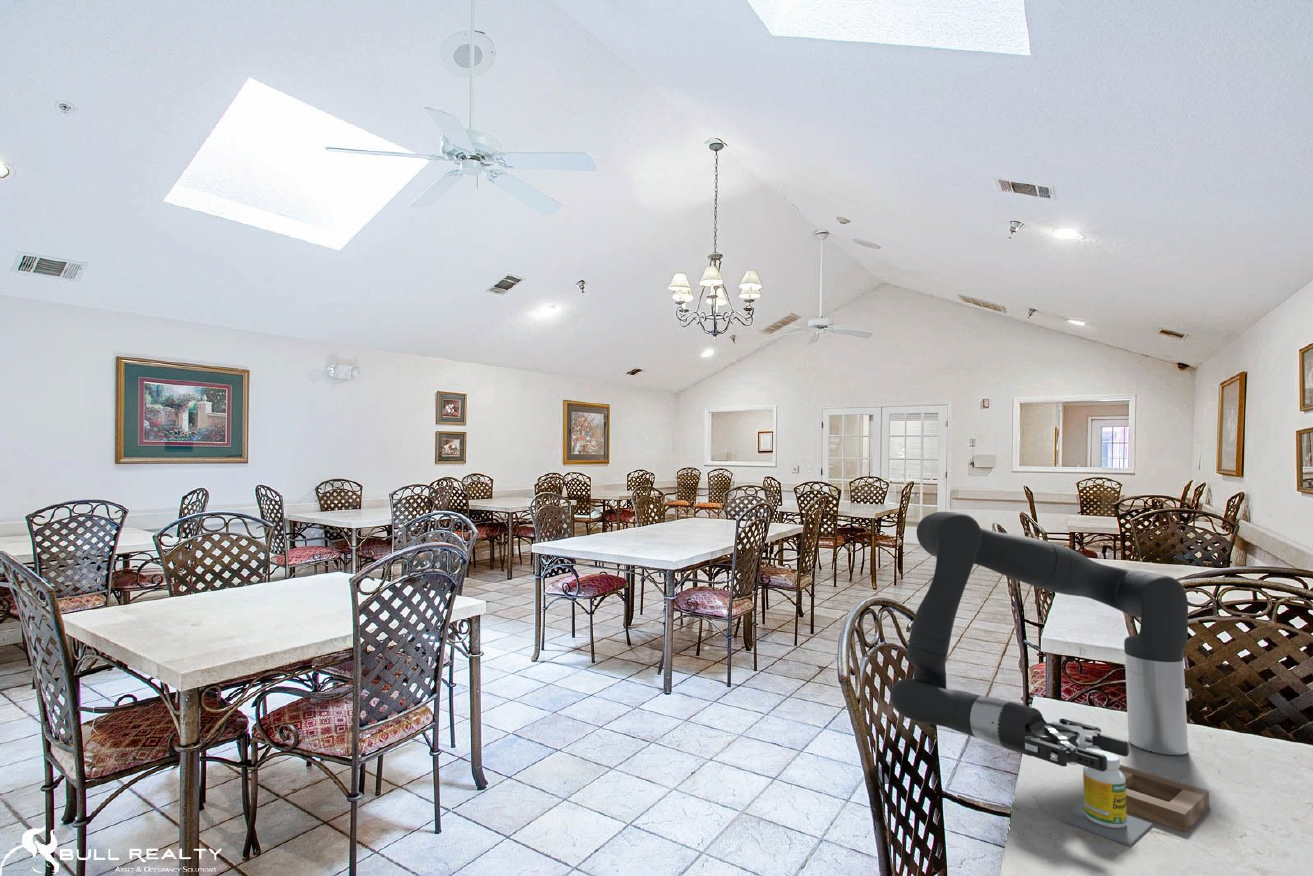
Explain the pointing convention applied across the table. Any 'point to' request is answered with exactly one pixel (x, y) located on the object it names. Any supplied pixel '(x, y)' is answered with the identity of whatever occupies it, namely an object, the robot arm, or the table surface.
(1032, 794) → the table surface
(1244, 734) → the table surface
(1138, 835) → the rubber mat
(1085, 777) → the supplement bottle
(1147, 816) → the socket block
